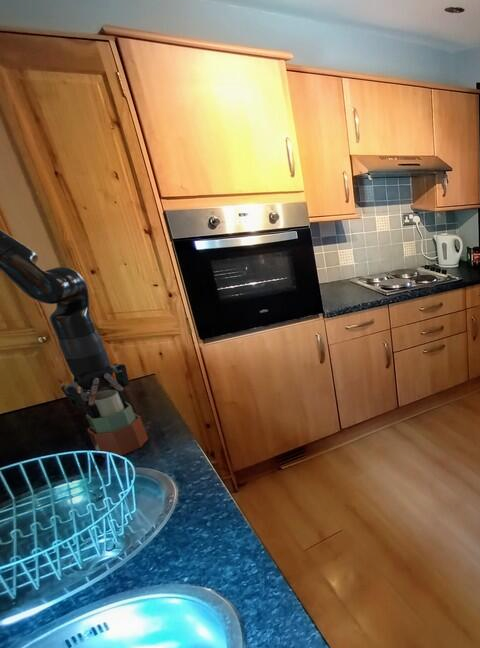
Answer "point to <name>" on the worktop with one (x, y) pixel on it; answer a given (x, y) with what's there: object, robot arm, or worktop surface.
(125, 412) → the cup stack
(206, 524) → the worktop surface
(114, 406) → the cup
